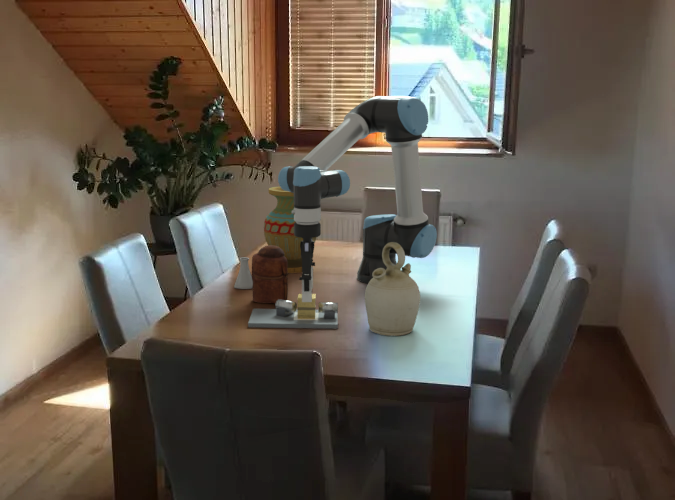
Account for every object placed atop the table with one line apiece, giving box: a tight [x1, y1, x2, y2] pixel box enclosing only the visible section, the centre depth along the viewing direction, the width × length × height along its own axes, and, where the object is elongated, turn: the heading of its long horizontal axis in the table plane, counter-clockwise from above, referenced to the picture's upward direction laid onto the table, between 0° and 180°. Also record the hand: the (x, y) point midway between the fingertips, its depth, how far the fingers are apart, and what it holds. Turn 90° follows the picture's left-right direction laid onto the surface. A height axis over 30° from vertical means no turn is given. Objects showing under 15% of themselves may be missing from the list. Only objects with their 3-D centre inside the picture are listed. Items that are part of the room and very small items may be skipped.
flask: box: [233, 256, 253, 290], centre depth 243 cm, size 7×7×10 cm
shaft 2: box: [317, 302, 339, 319], centre depth 208 cm, size 6×4×4 cm
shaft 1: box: [274, 299, 298, 317], centre depth 210 cm, size 6×4×4 cm
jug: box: [364, 242, 421, 337], centre depth 200 cm, size 15×16×25 cm
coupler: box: [297, 293, 317, 319], centre depth 208 cm, size 5×5×6 cm
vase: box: [263, 186, 317, 274], centre depth 267 cm, size 20×20×30 cm
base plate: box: [247, 308, 339, 330], centre depth 209 cm, size 25×14×1 cm, turn 91°
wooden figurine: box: [251, 244, 289, 305], centre depth 226 cm, size 12×6×18 cm, turn 84°
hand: (307, 294), depth 208 cm, fingers open, 13 cm apart
